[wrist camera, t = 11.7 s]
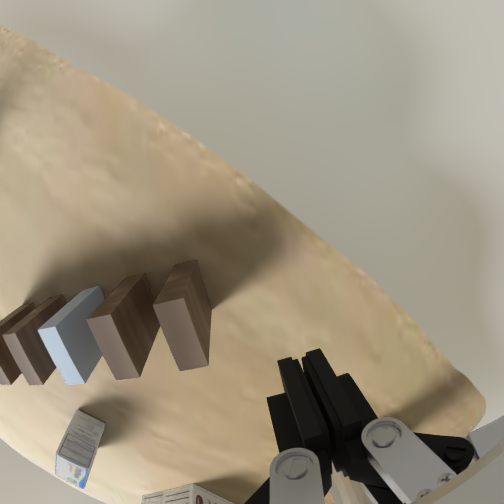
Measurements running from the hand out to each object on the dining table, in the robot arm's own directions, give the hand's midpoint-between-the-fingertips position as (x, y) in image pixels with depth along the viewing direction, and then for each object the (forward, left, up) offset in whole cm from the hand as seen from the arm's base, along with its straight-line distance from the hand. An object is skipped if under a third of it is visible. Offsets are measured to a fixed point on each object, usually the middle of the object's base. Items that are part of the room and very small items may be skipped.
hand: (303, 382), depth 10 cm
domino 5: (+6, 0, -16) cm, 17 cm away
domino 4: (+11, 0, -16) cm, 19 cm away
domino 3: (+16, 0, -16) cm, 23 cm away
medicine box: (+28, +17, -16) cm, 37 cm away
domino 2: (+21, 0, -16) cm, 26 cm away
